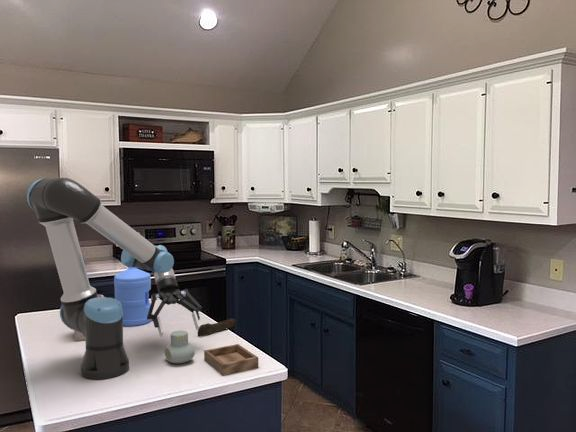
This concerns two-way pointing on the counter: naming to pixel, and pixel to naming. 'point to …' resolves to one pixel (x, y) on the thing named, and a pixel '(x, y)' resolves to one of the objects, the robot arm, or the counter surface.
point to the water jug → (133, 295)
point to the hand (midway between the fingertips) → (180, 331)
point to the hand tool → (216, 327)
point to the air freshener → (179, 348)
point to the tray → (230, 359)
